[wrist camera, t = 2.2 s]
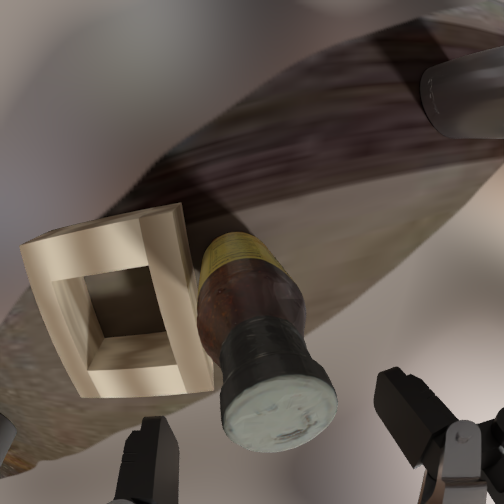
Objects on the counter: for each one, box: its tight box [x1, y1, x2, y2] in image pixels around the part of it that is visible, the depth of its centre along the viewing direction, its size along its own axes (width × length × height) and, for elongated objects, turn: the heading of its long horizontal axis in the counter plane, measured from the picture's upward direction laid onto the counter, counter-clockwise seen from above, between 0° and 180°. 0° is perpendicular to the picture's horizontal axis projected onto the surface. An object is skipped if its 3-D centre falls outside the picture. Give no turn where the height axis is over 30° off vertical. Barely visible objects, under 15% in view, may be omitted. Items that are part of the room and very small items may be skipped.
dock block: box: [19, 203, 214, 398], centre depth 24 cm, size 14×16×6 cm
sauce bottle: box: [197, 232, 338, 452], centre depth 18 cm, size 7×6×20 cm
